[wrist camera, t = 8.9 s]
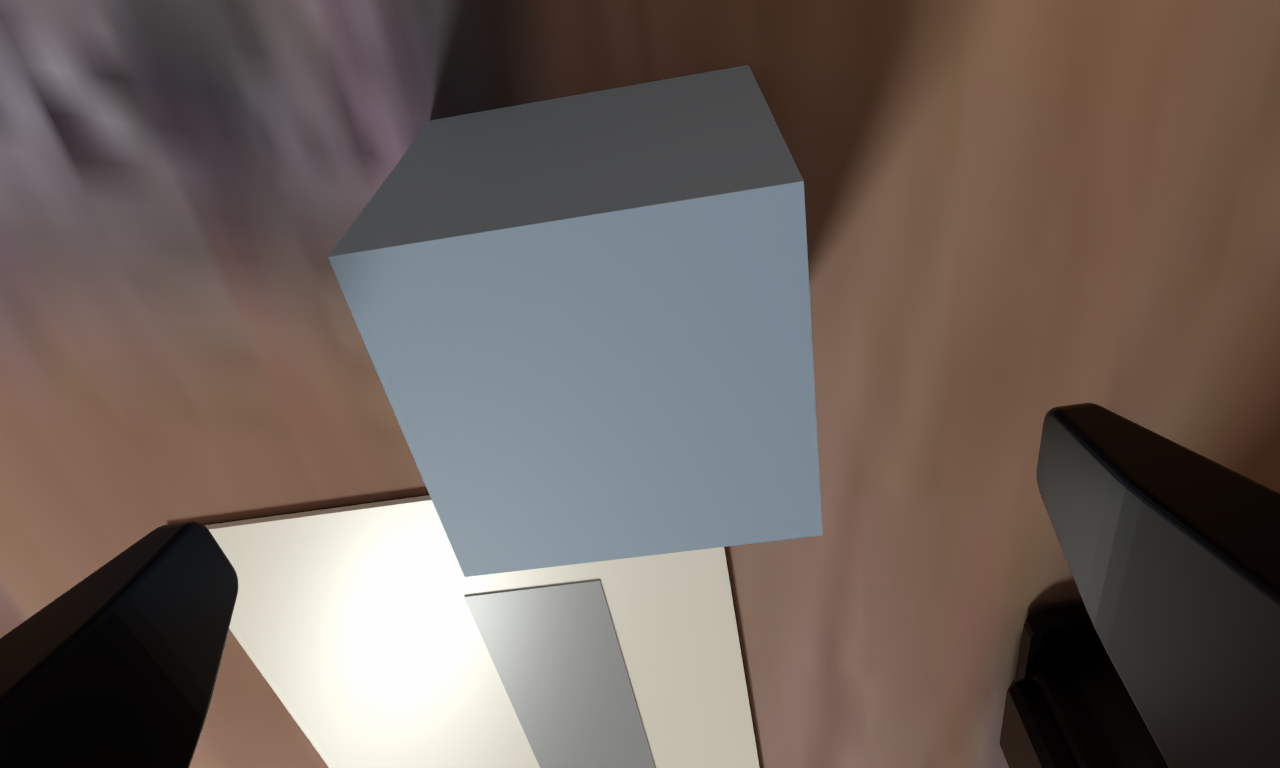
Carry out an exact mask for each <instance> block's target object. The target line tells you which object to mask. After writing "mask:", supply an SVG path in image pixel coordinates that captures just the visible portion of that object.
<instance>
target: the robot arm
mask: <svg viewBox="0 0 1280 768" xmlns="http://www.w3.org/2000/svg"><path fill="white" fill-rule="evenodd" d="M1037 482H1038V487H1039V491H1040V494H1041V497H1042V499H1043V502H1044V504H1045V507H1046V509H1047V512H1048V515H1049V517H1050V520H1051V522H1052V525H1053V527H1054V530H1055V532H1056V535H1057V537H1058V540H1059V542H1060V545H1061V547H1062V550H1063V552H1064V555H1065V557H1066V560H1067V562H1068V565H1069V567H1070V570H1071V572H1072V575H1073V577H1074V580H1075V582H1076V585H1077V587H1078V590H1079V592H1080V595H1081V597H1082V600H1083V603H1084V605H1079V606H1070V607H1061V608H1051V609H1045V610H1041V611H1038V612H1036V613H1034V614H1032V615H1031V616H1030V617H1029V618H1028V619H1027V620H1026V622H1025V624H1024V628H1023V635H1022V641H1021V648H1020V654H1019V661H1018V667H1017V674H1016V680H1014V681H1013V682H1012V684H1011V685H1010V687H1009V689H1008V690H1007V696H1006V702H1005V709H1004V716H1003V723H1002V730H1001V737H1000V745H1001V748H1002V751H1003V753H1004V756H1005V758H1006V761H1007V763H1008V766H1009V768H1280V494H1279V493H1277V492H1275V491H1273V490H1271V489H1269V488H1267V487H1265V486H1263V485H1261V484H1259V483H1257V482H1255V481H1253V480H1251V479H1249V478H1247V477H1244V476H1242V475H1240V474H1238V473H1236V472H1234V471H1232V470H1230V469H1228V468H1226V467H1224V466H1222V465H1220V464H1218V463H1216V462H1214V461H1212V460H1210V459H1208V458H1206V457H1204V456H1201V455H1199V454H1197V453H1195V452H1193V451H1191V450H1189V449H1187V448H1185V447H1183V446H1181V445H1179V444H1177V443H1175V442H1173V441H1171V440H1169V439H1167V438H1165V437H1163V436H1161V435H1159V434H1156V433H1154V432H1152V431H1150V430H1148V429H1146V428H1144V427H1142V426H1140V425H1138V424H1136V423H1134V422H1132V421H1130V420H1128V419H1126V418H1124V417H1122V416H1120V415H1118V414H1116V413H1114V412H1111V411H1109V410H1107V409H1105V408H1103V407H1101V406H1099V405H1096V404H1093V403H1083V404H1076V405H1068V406H1060V407H1055V408H1052V409H1051V410H1049V411H1048V412H1047V414H1046V416H1045V419H1044V423H1043V430H1042V437H1041V444H1040V451H1039V458H1038V465H1037ZM237 594H238V577H237V574H236V571H235V569H234V567H233V566H232V564H231V563H230V561H229V560H228V558H227V557H226V555H225V554H224V552H223V551H222V549H221V548H220V546H219V545H218V543H217V542H216V540H215V539H214V537H213V535H212V534H211V532H210V531H209V530H208V528H207V527H206V526H204V525H203V524H201V523H199V522H193V521H191V522H183V523H176V524H168V525H164V526H161V527H158V528H156V529H155V530H153V531H152V532H150V533H149V534H148V535H146V536H145V537H143V538H142V539H141V540H139V541H138V542H136V543H135V544H133V545H132V546H131V547H129V548H128V549H126V550H125V551H124V552H122V553H121V554H119V555H118V556H116V557H115V558H114V559H112V560H111V561H109V562H108V563H107V564H105V565H104V566H102V567H101V568H99V569H98V570H97V571H95V572H94V573H92V574H91V575H90V576H88V577H87V578H85V579H84V580H83V581H81V582H80V583H78V584H77V585H75V586H74V587H73V588H71V589H70V590H68V591H67V592H66V593H64V594H63V595H61V596H60V597H58V598H57V599H56V600H54V601H53V602H51V603H50V604H49V605H47V606H46V607H44V608H43V609H41V610H40V611H39V612H37V613H36V614H34V615H33V616H32V617H30V618H29V619H27V620H26V621H24V622H23V623H22V624H20V625H19V626H17V627H16V628H15V629H13V630H12V631H10V632H9V633H8V634H6V635H5V636H3V637H2V638H0V768H189V766H190V763H191V761H192V758H193V755H194V752H195V749H196V747H197V744H198V741H199V738H200V735H201V732H202V729H203V726H204V723H205V720H206V716H207V712H208V709H209V705H210V702H211V698H212V694H213V690H214V686H215V682H216V678H217V674H218V670H219V666H220V662H221V658H222V654H223V650H224V646H225V642H226V638H227V634H228V630H229V626H230V622H231V618H232V614H233V610H234V606H235V602H236V598H237Z"/></svg>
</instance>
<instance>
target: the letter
mask: <svg viewBox="0 0 1280 768" xmlns="http://www.w3.org/2000/svg"><path fill="white" fill-rule="evenodd" d="M204 526H206V527H207V528H208V530H209V531H210V532H211V534H212V535H213V537H214V539H215V540H216V542H217V543H218V545H219V546H220V548H221V549H222V551H223V552H224V554H225V555H226V557H227V558H228V560H229V561H230V563H231V564H232V566H233V567H234V569H235V571H236V574H237V577H238V594H237V598H236V602H235V606H234V610H233V614H232V618H231V622H230V626H229V629H230V630H231V632H232V633H233V634H234V636H235V637H236V639H237V640H238V641H239V643H240V644H241V646H242V647H243V648H244V650H245V651H246V653H247V654H248V655H249V657H250V658H251V660H252V661H253V662H254V664H255V665H256V667H257V668H258V669H259V671H260V672H261V673H262V675H263V676H264V678H265V679H266V680H267V682H268V683H269V685H270V686H271V687H272V689H273V690H274V692H275V693H276V694H277V696H278V697H279V699H280V700H281V701H282V703H283V704H284V706H285V707H286V708H287V710H288V711H289V712H290V714H291V715H292V717H293V718H294V719H295V721H296V722H297V724H298V725H299V726H300V728H301V729H302V731H303V732H304V733H305V735H306V736H307V738H308V739H309V740H310V742H311V743H312V745H313V746H314V747H315V749H316V750H317V751H318V753H319V754H320V756H321V757H322V758H323V760H324V761H325V763H326V764H327V765H328V767H329V768H760V766H759V760H758V754H757V748H756V742H755V735H754V729H753V723H752V717H751V710H750V704H749V698H748V692H747V686H746V679H745V673H744V667H743V661H742V654H741V648H740V642H739V636H738V630H737V623H736V617H735V611H734V605H733V599H732V592H731V586H730V580H729V574H728V567H727V561H726V555H725V549H724V547H718V548H710V549H701V550H693V551H684V552H675V553H667V554H658V555H650V556H641V557H633V558H624V559H616V560H607V561H598V562H590V563H581V564H573V565H564V566H556V567H547V568H539V569H530V570H521V571H513V572H504V573H496V574H487V575H479V576H470V577H464V574H463V572H462V570H461V567H460V565H459V563H458V560H457V558H456V556H455V553H454V551H453V549H452V546H451V544H450V542H449V539H448V537H447V535H446V532H445V530H444V528H443V525H442V523H441V521H440V518H439V516H438V514H437V511H436V509H435V507H434V504H433V502H432V499H431V497H430V495H427V496H420V497H412V498H405V499H397V500H390V501H382V502H375V503H367V504H360V505H352V506H345V507H337V508H330V509H322V510H315V511H308V512H300V513H293V514H285V515H278V516H270V517H263V518H255V519H248V520H240V521H233V522H225V523H218V524H210V525H204Z"/></svg>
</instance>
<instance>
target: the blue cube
mask: <svg viewBox="0 0 1280 768" xmlns="http://www.w3.org/2000/svg"><path fill="white" fill-rule="evenodd" d="M328 259H329V261H330V263H331V266H332V268H333V270H334V273H335V275H336V277H337V280H338V282H339V284H340V287H341V289H342V291H343V294H344V296H345V299H346V301H347V303H348V306H349V308H350V310H351V313H352V315H353V317H354V320H355V322H356V324H357V327H358V329H359V331H360V334H361V336H362V338H363V341H364V343H365V345H366V348H367V350H368V352H369V355H370V357H371V359H372V362H373V364H374V366H375V369H376V371H377V373H378V376H379V378H380V380H381V383H382V385H383V387H384V390H385V392H386V394H387V397H388V399H389V401H390V404H391V406H392V408H393V411H394V413H395V415H396V418H397V420H398V422H399V425H400V427H401V429H402V432H403V434H404V436H405V439H406V441H407V443H408V446H409V448H410V450H411V453H412V455H413V457H414V460H415V462H416V464H417V467H418V469H419V471H420V474H421V476H422V478H423V481H424V483H425V485H426V488H427V490H428V492H429V495H430V497H431V499H432V502H433V504H434V507H435V509H436V511H437V514H438V516H439V518H440V521H441V523H442V525H443V528H444V530H445V532H446V535H447V537H448V539H449V542H450V544H451V546H452V549H453V551H454V553H455V556H456V558H457V560H458V563H459V565H460V567H461V570H462V572H463V574H464V577H470V576H479V575H487V574H496V573H504V572H513V571H521V570H530V569H539V568H547V567H556V566H564V565H573V564H581V563H590V562H598V561H607V560H616V559H624V558H633V557H641V556H650V555H658V554H667V553H675V552H684V551H693V550H701V549H710V548H718V547H727V546H735V545H744V544H752V543H761V542H770V541H778V540H787V539H795V538H804V537H812V536H821V535H822V516H821V497H820V478H819V460H818V441H817V422H816V403H815V384H814V365H813V346H812V328H811V309H810V290H809V271H808V252H807V233H806V214H805V196H804V181H803V178H802V176H801V174H800V172H799V170H798V168H797V166H796V164H795V162H794V159H793V157H792V155H791V153H790V151H789V149H788V147H787V145H786V143H785V140H784V138H783V136H782V134H781V132H780V130H779V128H778V126H777V124H776V121H775V119H774V117H773V115H772V113H771V111H770V109H769V107H768V105H767V102H766V100H765V98H764V96H763V94H762V92H761V90H760V88H759V86H758V83H757V81H756V79H755V77H754V75H753V73H752V71H751V69H750V67H749V65H744V66H739V67H733V68H727V69H721V70H716V71H710V72H704V73H699V74H693V75H687V76H681V77H676V78H670V79H664V80H659V81H653V82H647V83H641V84H636V85H630V86H624V87H619V88H613V89H607V90H601V91H596V92H590V93H584V94H579V95H573V96H567V97H561V98H556V99H550V100H544V101H539V102H533V103H527V104H521V105H516V106H510V107H504V108H499V109H493V110H487V111H481V112H476V113H470V114H464V115H459V116H453V117H447V118H441V119H436V120H430V121H429V122H428V124H427V125H426V126H425V128H424V129H423V130H422V132H421V133H420V134H419V136H418V137H417V138H416V140H415V141H414V142H413V144H412V145H411V146H410V148H409V149H408V150H407V152H406V153H405V154H404V156H403V157H402V158H401V160H400V161H399V162H398V164H397V165H396V166H395V168H394V169H393V170H392V172H391V173H390V174H389V176H388V177H387V178H386V180H385V181H384V182H383V184H382V185H381V186H380V188H379V189H378V190H377V192H376V193H375V195H374V196H373V197H372V199H371V200H370V201H369V203H368V204H367V205H366V207H365V208H364V209H363V211H362V212H361V213H360V215H359V216H358V217H357V219H356V220H355V221H354V223H353V224H352V225H351V227H350V228H349V229H348V231H347V232H346V233H345V235H344V236H343V237H342V239H341V240H340V241H339V243H338V244H337V245H336V247H335V248H334V249H333V251H332V252H331V253H330V255H329V256H328Z"/></svg>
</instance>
